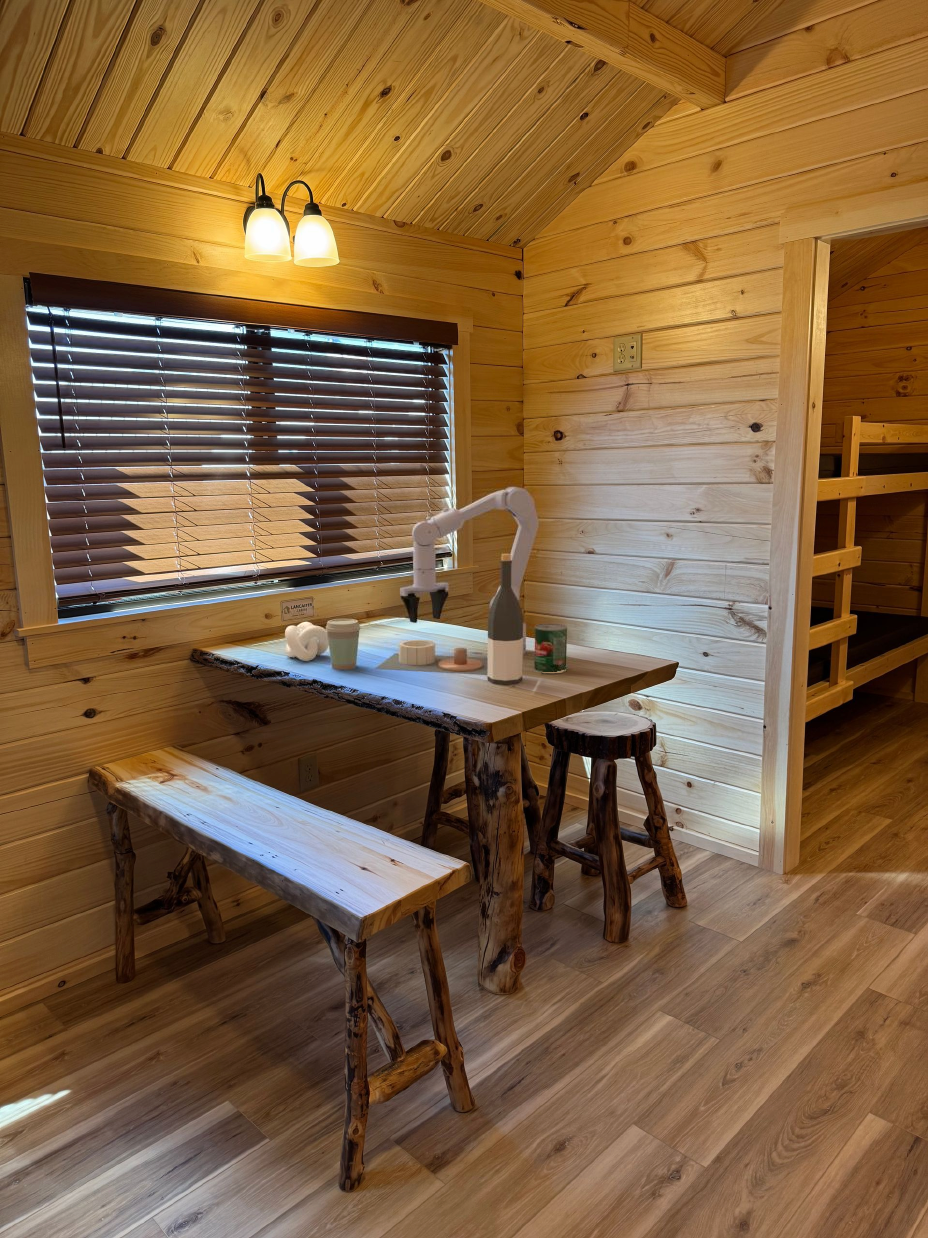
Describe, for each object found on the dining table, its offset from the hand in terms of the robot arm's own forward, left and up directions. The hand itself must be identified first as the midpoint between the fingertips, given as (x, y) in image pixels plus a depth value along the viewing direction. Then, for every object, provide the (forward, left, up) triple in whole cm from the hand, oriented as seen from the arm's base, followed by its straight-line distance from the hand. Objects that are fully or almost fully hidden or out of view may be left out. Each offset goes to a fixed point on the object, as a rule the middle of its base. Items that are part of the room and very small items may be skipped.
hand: (425, 620), depth 219 cm
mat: (-6, +9, -10) cm, 14 cm away
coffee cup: (+16, +17, -10) cm, 26 cm away
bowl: (0, +7, -9) cm, 12 cm away
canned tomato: (-34, +7, -10) cm, 36 cm away
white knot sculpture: (+30, +9, -10) cm, 33 cm away
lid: (-12, +10, -9) cm, 18 cm away
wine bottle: (-25, +21, -10) cm, 34 cm away
